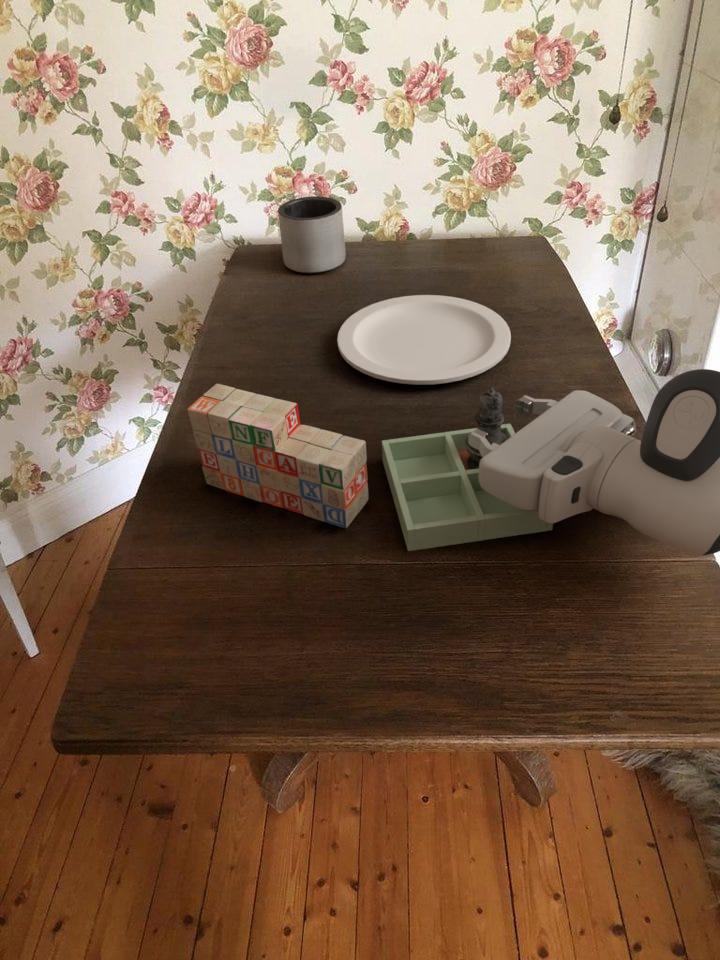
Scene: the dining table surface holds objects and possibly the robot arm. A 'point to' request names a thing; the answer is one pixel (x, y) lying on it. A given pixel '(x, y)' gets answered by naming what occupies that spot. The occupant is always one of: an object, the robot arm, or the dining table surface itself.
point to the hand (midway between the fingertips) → (496, 418)
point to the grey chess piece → (487, 424)
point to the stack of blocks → (278, 455)
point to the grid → (448, 493)
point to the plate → (424, 339)
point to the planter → (312, 234)
